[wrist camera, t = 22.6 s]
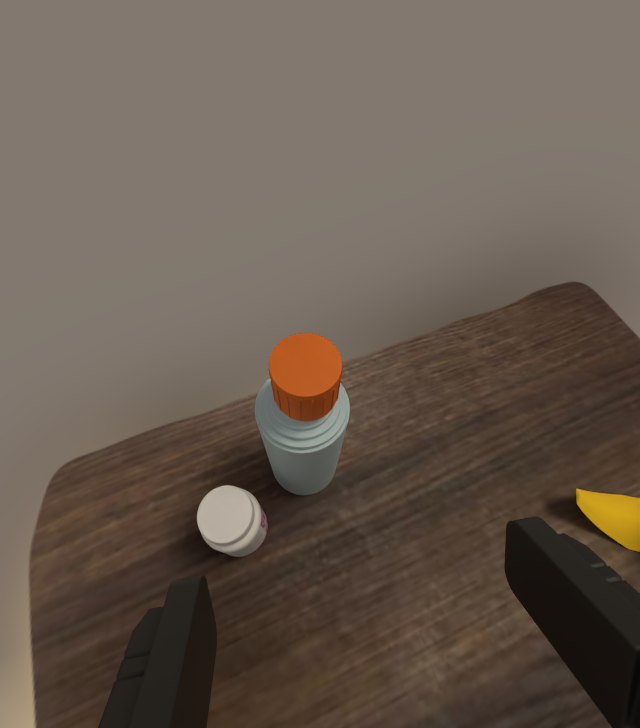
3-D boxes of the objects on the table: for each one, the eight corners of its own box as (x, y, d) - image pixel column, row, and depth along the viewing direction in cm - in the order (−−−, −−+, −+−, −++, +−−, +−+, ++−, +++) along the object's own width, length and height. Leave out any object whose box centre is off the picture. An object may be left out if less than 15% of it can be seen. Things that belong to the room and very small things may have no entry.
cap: (340, 422, 23) (345, 396, 20) (272, 423, 23) (266, 397, 20) (337, 363, 25) (341, 331, 22) (274, 364, 25) (269, 332, 22)
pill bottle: (279, 528, 35) (271, 515, 28) (237, 569, 33) (217, 566, 26) (246, 489, 37) (230, 466, 29) (204, 526, 35) (177, 512, 28)
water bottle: (275, 500, 36) (246, 430, 19) (268, 435, 39) (238, 326, 22) (342, 489, 37) (371, 412, 20) (330, 426, 40) (346, 313, 23)
